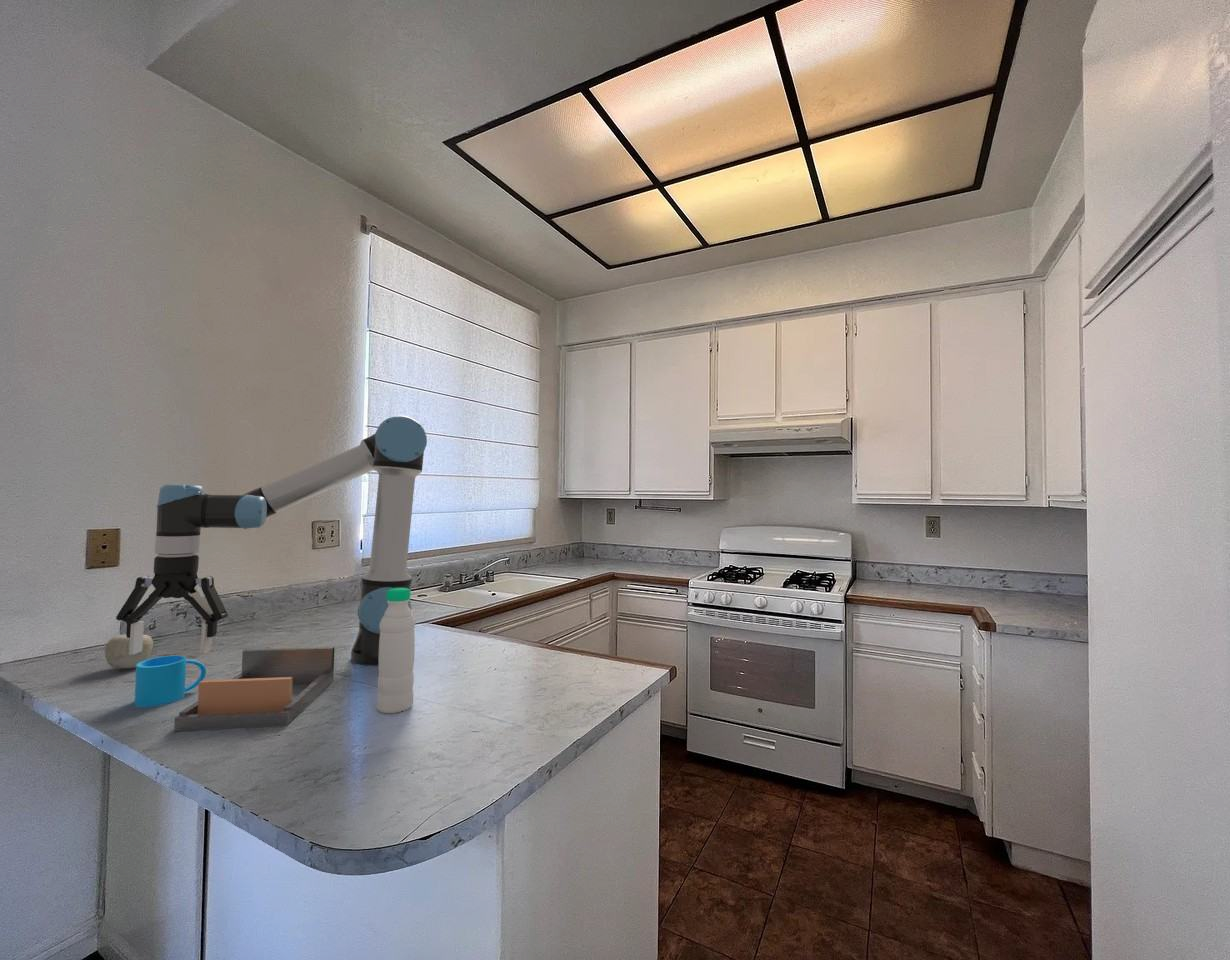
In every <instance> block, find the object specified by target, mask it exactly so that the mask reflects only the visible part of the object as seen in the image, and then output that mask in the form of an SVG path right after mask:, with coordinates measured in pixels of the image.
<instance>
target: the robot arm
mask: <svg viewBox="0 0 1230 960" xmlns="http://www.w3.org/2000/svg"><path fill="white" fill-rule="evenodd" d="M427 443H428V437H427V433H426V431H425V429H424V427H423V426H422V424H420V423H419V422H418V421H417V420H416V419H414V418H412V417H409V416H406V415H394V416H390V417H388V418H386V419H384V421H382V422H381V423H380V424H379V425H378V426H377V429H376V431H375V433H374V434H372V435H370V436H368V437H366V438H364V439H361V440H360V443H359V445H356V446H354V447H352V448H350V449H347V450H345V451H342V452H340V453H338V454H336V455H333V456H331V457H329V458H326V459H323V460H322V461H318V462H317V463H314V464H312V465H310V466H308V467H305V468H302V469H301V470H298V471H296V472H293V473H291V474H287V475H286V476H284V477H281V478H279V479H277V480H275V481H272V482H270V483H267V484H266V485H263V486H262V485H261V486H260V487H258V488H255V489H253V490H251V491H248V492H246V493H243V494H210V493H209V494H207V493H205V491H204V488H203V486H202V485H198V484H197V485H194V484H192V485H191V484H190V485H189V484H188V485H187V484H163V486H161V487H160V489H159V495H158V502H157V504H156V508H157V509H156V511H157V513H156V532H155V543H154V554H156V556H155V557H154V558H153V559H154V560H153V574H154V575H153V577H151V576H149V575H145V576H139V577H137V578H136V579H135V584H134V588H133V589H132V591H131V593H130V595H129V596H128V598H127V599H126V601H125V602H124V604H123V605H122V607H121V608H120V611H118V613H117V616H116V617H115V619H116V620H117V621H122V622H125V623H126V633H125V635H126V636H127V638H130V646H129V655H133V654H136V653H138V652H141V651H142V645H143V635H144V628H145V621H144V620H142V618H143V617H144V616H145V615H146V614H147V613H148V612H149V611H150V610H152V608H153V607H154V606H155V605H156V604H158V602H159V601H160V600H161V599H162V598H163V599H170V598H174V599H181V598H183V599H184V600H186V601H188V602H189V603H190V605H191V606H192V607H193V608H194V609H195V610H196V611H197V614H199V615H200V616H201V617H202V618H203V619H204V622H202V623H201V633H200V634H201V635H200V648H199V650H200V651H199V653H200V654H201V655H202V654H206V653H208V652H210V651H212V646H213V645H212V643H213V637H216V635H217V632H218V631H217V630H218V622H219V621H220V620H223V619H225V618H227V617H228V615H229V614H228V612H227V609H226V606H225V605H224V603H223V601H222V599H221V597H220V595H219V593H218V591H217V589H216V587H215V581H214V580H215V578H214V577H213V576H211V575H210V576H206V577H200V578H199V576H198V571H199V562H200V561H199V558H200V556H198V554H197V553H199V552H200V543H201V541H200V540H201V529H202V528H204V529H205V528H208V529H210V528H212V529H214V528H215V529H220V528H221V529H243V530H247V529H259V528H261V527H263V526H264V525H265V522H266V521H267V518H268V517H269V518H270V517H271V516H274V515H276V514H278V513H279V512H283V511H284V510H286V509H288V508H291V507H294V506H296V505H298V504H300V503H303V502H305V501H308V499H312V498H313V497H315V496H319V495H320V494H323V493H325V492H327V491H329V490H332V489H333V488H336V487H338V486H341V485H342V484H345V483H348V482H350V481H352V480H354V479H356V478H359V477H361V476H363V475H365V474H368V473H370V472H372V471H376V472H377V474H378V481H377V492H376V500H375V512H374V519H373V520H374V522H373V530H372V531H373V532H372V542H371V550H370V562H369V563H370V564H369V569H368V571H365V573H364V574H362V575H361V578H360V582H359V589H360V590H359V604H358V607H357V618H358V620H359V623H358V625H359V626H358V627H359V628H358V632H357V635H356V638H355V640H354V643H353V645H352V648H351V650H350V651H351V652H350V656H351V657H350V661H351V662H352V663H354V664H358V665H365V666H366V665H367V666H369V665H370V666H372V665H373V666H376V665H377V666H379V639H380V628H379V625H380V621H381V619H382V618H383V616H384V613H385V611H386V610H387V608H388V602H387V599H386V593H387V591H388V590H389V589H392V588H408V589H409V590H410V593H412V592H411V591H412V579H413V577H412V575H411V574H410V573H409V572H408V571H407V569H408V568H407V566H408V555H409V545H410V536H411V535H410V534H411V524H412V515H413V504H414V495H415V494H414V493H415V491H414V490H415V482H416V477H417V476H419V475H420V474H421V473H422V472H423V466H424V456H425V455H424V454H425V450H426V447H427ZM197 585H198V587H200V588H201V591H202V593H203V595H204V597H205V599H204V598H203V597H202V596H201V593H200V592H199V590H197V588H196V586H197ZM151 586H153V588H154V590H153V591H152V592H151V593H150V594H149V595H148V597H147V598H146V599H145V600H144V601H143V602H142V603H141V604H140V602H141V600H142V599H143V597H144V595H145V594H146V593H147V591H148V589H149V587H151ZM409 600H410V601H409V602H408V607H409V608H410V610H411V611H412V605H411V598H410V599H409ZM139 604H140V605H139ZM138 605H139V606H138Z"/></svg>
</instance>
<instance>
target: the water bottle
mask: <svg viewBox="0 0 1230 960" xmlns="http://www.w3.org/2000/svg"><path fill="white" fill-rule="evenodd" d="M386 599H387V602H388V608H387V610H386V611H385V613H384V616H383V618H382V619H381V621H380V625H379V628H380V639H379V665H378V678H377V691H378V692H377V699H376V709H377V710H378V711H379V712H380V713H382V714H387V713H389V714H390V713H392V714H398V713H397V712H399V713H402V712H401V711H403V712H405V711H407V710H409V709H411V707H412V706H413V704H414V690H413V689H414V687H413V686H414V681H415V677H414V676H415V675H414V672H413V671H414V664H415V648H416V646H415V645H416V644H415V643H416V642H415V641H416V637H415V627H416V619H415V617H414V615H413V613H412V609H411V610H410V608H409V607H408V602H409V601H410V602H411V592H410V590H409V589H408V588H392V589H389V590H388V591H387V593H386ZM409 599H410V600H409ZM408 708H409V709H408ZM406 709H407V710H406ZM404 710H405V711H404ZM389 714H388V715H389ZM390 715H391V714H390Z"/></svg>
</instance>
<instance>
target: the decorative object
mask: <svg viewBox="0 0 1230 960" xmlns="http://www.w3.org/2000/svg"><path fill="white" fill-rule="evenodd" d="M129 646H130V638H127V636H126V634H118V635H115V636H113V637H112V638H111V639H109V640H108V642H107V644H106V646H105V650H104V651H105V652H104V655H105V656H104V657H105V660H106V662H107V664H108V665H109V666H110V667H111V668H113V669H115V670H121V669H136V664H138V663H139V662H142V661H144V660H148V657H149V656H150V654H151V652H152V651H153V647H154V640H153V639H152V637H151V636H150V635H149V634H143V645H142V651H141V652H138V653H136V654H133V655H129Z"/></svg>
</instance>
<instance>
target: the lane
mask: <svg viewBox="0 0 1230 960" xmlns="http://www.w3.org/2000/svg"><path fill="white" fill-rule="evenodd" d="M241 659H242V660H241V672H240V673H239V674H237V675H236V676H234V677H233V678H232V679H253V678H280V677H293V680H292V685H298V684H299V685H300V684H302V683H303V684H309V685H308V686H306V687H305V688H304V689H303V690H302V691H301V692H300V693H299V694H297V695H296V696H295V697H294V698H292V701H291V702H290V703H289V704H288V705H286V706H285V707H284V710H279V711H258V712H237V713H215V714H198V700H197V701H195V702H193V703H192V704H191V705H188V706H187V707H186V708H184V709H182V710H181V711H179V712H178V715H177V716H175V717H174V730H173V731H174V732H187V731H188V732H189V731H209V730H225V729H226V730H228V729H245V728H246V729H248V728H267V727H270V728H271V727H283V726H284V727H285V726H288V725H290V724H291V723H292V722H293V721H294V720H295V719H296V718H298V716H299V715H300V714H301V713H302V712H303V711H304V710H305V709H306V708H307V707H308V706H309V705H310V704H311V703H312V702H313V701H314V700H315V699H316V698H317V697H318V696H319V695H320V694H321V693H322V692H323V691H324V690H326V688H328V687H329V685H331V683H333V682H334V674H335V646H323V647H321V646H320V647H290V648H289V647H287V648H285V647H284V648H283V647H282V648H256V649H254V648H253V649H252V648H248V649H243V650H242V657H241Z"/></svg>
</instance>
